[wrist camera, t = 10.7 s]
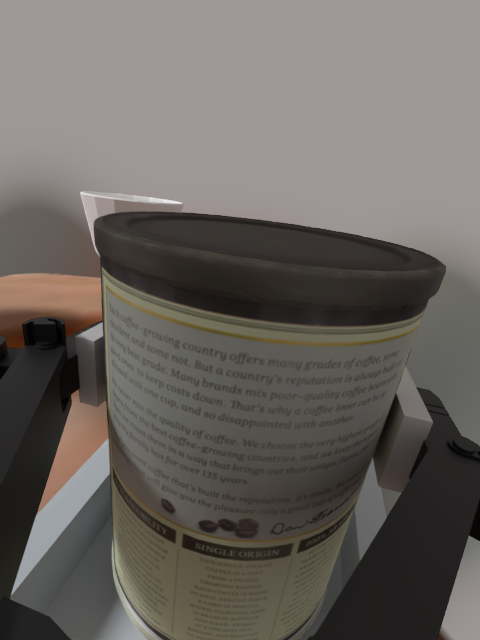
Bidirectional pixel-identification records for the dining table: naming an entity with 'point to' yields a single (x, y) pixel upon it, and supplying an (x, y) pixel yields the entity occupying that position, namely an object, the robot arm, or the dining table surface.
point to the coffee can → (244, 410)
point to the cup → (122, 206)
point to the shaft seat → (96, 556)
